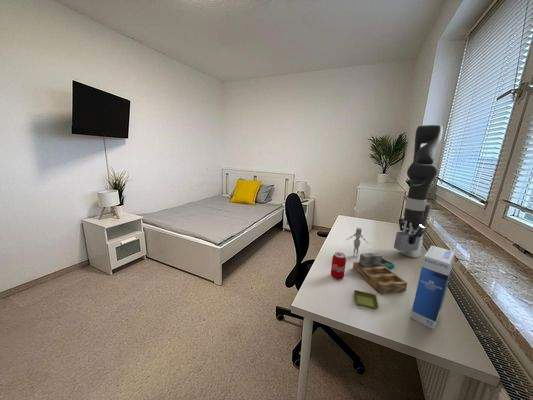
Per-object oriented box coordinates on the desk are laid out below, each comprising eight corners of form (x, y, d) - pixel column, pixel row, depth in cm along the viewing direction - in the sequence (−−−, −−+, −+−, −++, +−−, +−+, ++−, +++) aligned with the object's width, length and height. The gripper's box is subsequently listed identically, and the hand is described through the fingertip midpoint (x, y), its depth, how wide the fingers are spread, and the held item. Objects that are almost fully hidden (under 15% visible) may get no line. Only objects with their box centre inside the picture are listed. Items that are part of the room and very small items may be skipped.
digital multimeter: (371, 256, 127) (372, 251, 126) (394, 269, 114) (395, 264, 113) (362, 258, 124) (363, 253, 124) (385, 271, 111) (386, 266, 110)
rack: (376, 267, 114) (378, 250, 112) (405, 290, 95) (409, 271, 93) (352, 268, 112) (354, 252, 110) (377, 293, 93) (380, 274, 91)
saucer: (353, 306, 85) (354, 302, 84) (353, 293, 93) (353, 289, 92) (378, 312, 82) (378, 308, 82) (375, 298, 90) (376, 294, 90)
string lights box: (418, 301, 88) (431, 244, 82) (441, 312, 83) (457, 251, 77) (409, 318, 79) (423, 255, 73) (435, 330, 74) (451, 264, 68)
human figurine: (344, 255, 126) (347, 227, 122) (344, 253, 129) (348, 225, 125) (366, 260, 121) (370, 230, 117) (366, 257, 124) (370, 228, 120)
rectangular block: (411, 246, 105) (414, 231, 103) (417, 250, 101) (420, 234, 100) (393, 247, 103) (396, 232, 101) (399, 250, 100) (402, 234, 98)
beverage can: (337, 282, 100) (339, 259, 97) (327, 275, 105) (330, 253, 103) (346, 278, 103) (349, 256, 100) (337, 272, 108) (339, 250, 105)
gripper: (436, 212, 91) (428, 248, 95) (409, 203, 105) (403, 236, 109) (421, 212, 90) (413, 249, 94) (396, 204, 104) (390, 236, 108)
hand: (408, 242), depth 102 cm, fingers closed on rectangular block, 3 cm apart
